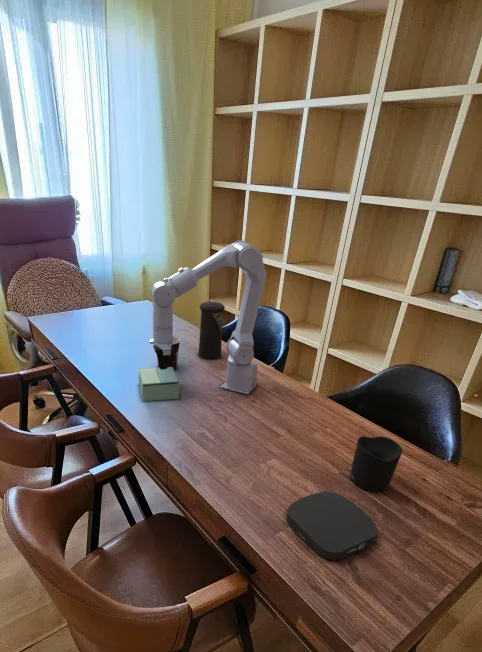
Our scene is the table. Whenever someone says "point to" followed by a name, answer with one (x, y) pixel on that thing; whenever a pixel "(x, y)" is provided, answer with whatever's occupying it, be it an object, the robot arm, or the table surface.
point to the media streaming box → (331, 524)
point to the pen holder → (374, 463)
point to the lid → (167, 375)
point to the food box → (156, 386)
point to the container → (211, 330)
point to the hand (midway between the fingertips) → (163, 368)
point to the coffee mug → (174, 353)
